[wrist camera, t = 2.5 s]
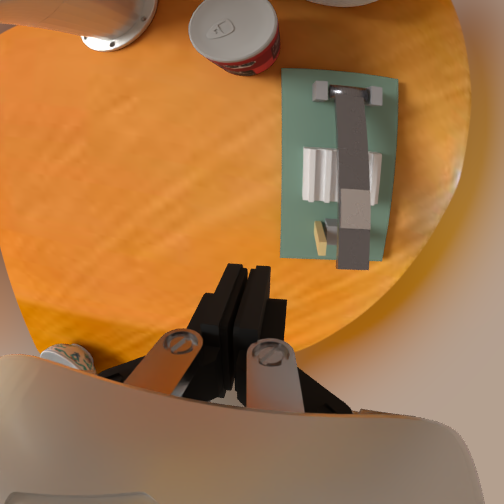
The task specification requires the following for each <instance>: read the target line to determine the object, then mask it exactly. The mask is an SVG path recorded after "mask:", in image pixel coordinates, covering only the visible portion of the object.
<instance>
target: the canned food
mask: <svg viewBox="0 0 504 504" xmlns="http://www.w3.org/2000/svg"><path fill="white" fill-rule="evenodd" d="M189 37H190V40H191V42H192V44H193V46H194V47H195V49H196V50H197V51H198V52H199V53H200V54H201V55H203V56H204V57H206V58H207V59H208V60H210V61H211V62H213V63H215V64H216V65H218V66H219V67H221V68H222V69H224V70H225V71H227V72H229V73H231V74H234V75H239V76H251V75H255V74H258V73H261V72H263V71H264V70H266V69H268V68H269V67H270V66H271V65H272V64H273V63H274V62H275V60H276V59H277V57H278V55H279V52H280V35H279V25H278V19H277V15H276V12H275V10H274V8H273V6H272V5H271V3H270V2H269V1H268V0H205V1H203V2H202V3H201V4H200V5H199V6H198V7H197V9H196V10H195V11H194V13H193V15H192V17H191V19H190V23H189Z"/></svg>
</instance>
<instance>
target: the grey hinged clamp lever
mask: <svg viewBox="0 0 504 504" xmlns="http://www.w3.org/2000/svg"><path fill="white" fill-rule="evenodd" d="M328 95H329V99H334V108H335V124H336V146H337V192H338V207H337V254H336V269H352V270H369V252H370V229H371V197H370V176H369V155H368V139H367V127H366V116H365V106H364V102H367V101H368V89H367V88H361V87H352V86H342V85H331V84H329V89H328Z"/></svg>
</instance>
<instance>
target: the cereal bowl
mask: <svg viewBox="0 0 504 504" xmlns="http://www.w3.org/2000/svg"><path fill="white" fill-rule="evenodd" d="M306 1H310V2H313V3H317V4H321V5H328V6H336V7H354V6H361V5H366V4H369V3H372V2H375V1H377V0H306Z"/></svg>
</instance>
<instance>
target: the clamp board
mask: <svg viewBox="0 0 504 504" xmlns="http://www.w3.org/2000/svg"><path fill="white" fill-rule="evenodd" d="M281 77H282V199H281V247H280V258H302V259H331V260H336V254H337V207H338V192H337V146H336V124H335V108H334V99H329V95H328V89H329V84H331V85H342V86H352V87H361V88H367V89H368V101H367V102H364V106H365V116H366V127H367V139H368V155H369V176H370V197H371V229H370V252H369V261H382V258H383V252H384V247H385V241H386V235H387V228H388V222H389V215H390V207H391V200H392V191H393V182H394V172H395V160H396V147H397V128H398V79H394V78H388V77H382V76H375V75H368V74H361V73H352V72H343V71H332V70H318V69H297V68H281Z"/></svg>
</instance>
